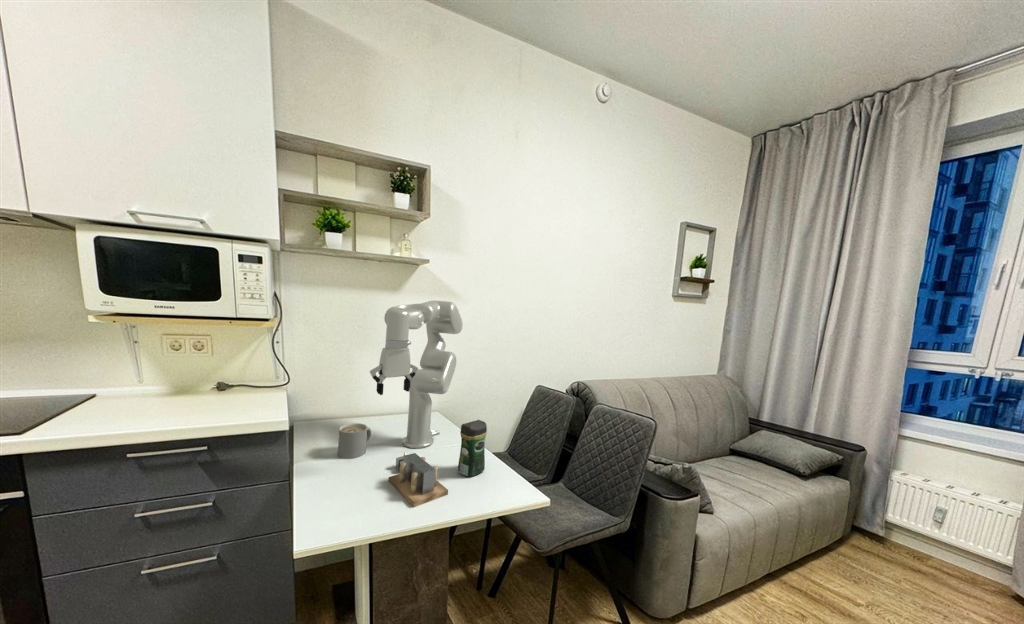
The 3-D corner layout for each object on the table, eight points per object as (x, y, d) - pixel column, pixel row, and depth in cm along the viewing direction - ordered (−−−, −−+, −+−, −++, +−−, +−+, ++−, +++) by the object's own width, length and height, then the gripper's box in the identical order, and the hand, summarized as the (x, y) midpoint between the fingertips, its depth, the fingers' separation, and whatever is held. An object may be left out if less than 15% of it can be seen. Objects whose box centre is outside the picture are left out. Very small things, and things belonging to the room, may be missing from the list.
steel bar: (413, 472, 122) (414, 452, 122) (433, 490, 112) (435, 469, 112) (402, 475, 119) (404, 455, 119) (422, 494, 109) (424, 472, 109)
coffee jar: (473, 463, 135) (476, 416, 135) (487, 471, 130) (491, 422, 129) (453, 471, 128) (457, 421, 128) (467, 480, 123) (471, 428, 122)
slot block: (410, 463, 132) (411, 447, 132) (417, 468, 128) (418, 452, 128) (395, 467, 128) (396, 451, 128) (402, 473, 124) (403, 456, 124)
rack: (420, 471, 126) (422, 451, 126) (447, 494, 113) (449, 471, 113) (388, 481, 118) (389, 459, 118) (413, 507, 105) (415, 482, 105)
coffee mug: (345, 461, 130) (347, 434, 129) (332, 452, 135) (334, 427, 135) (378, 450, 140) (380, 426, 140) (365, 443, 146) (366, 419, 146)
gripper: (414, 342, 132) (411, 387, 133) (367, 343, 121) (364, 392, 121) (424, 345, 127) (420, 392, 127) (376, 346, 115) (373, 398, 116)
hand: (393, 392), depth 124 cm, fingers open, 9 cm apart
